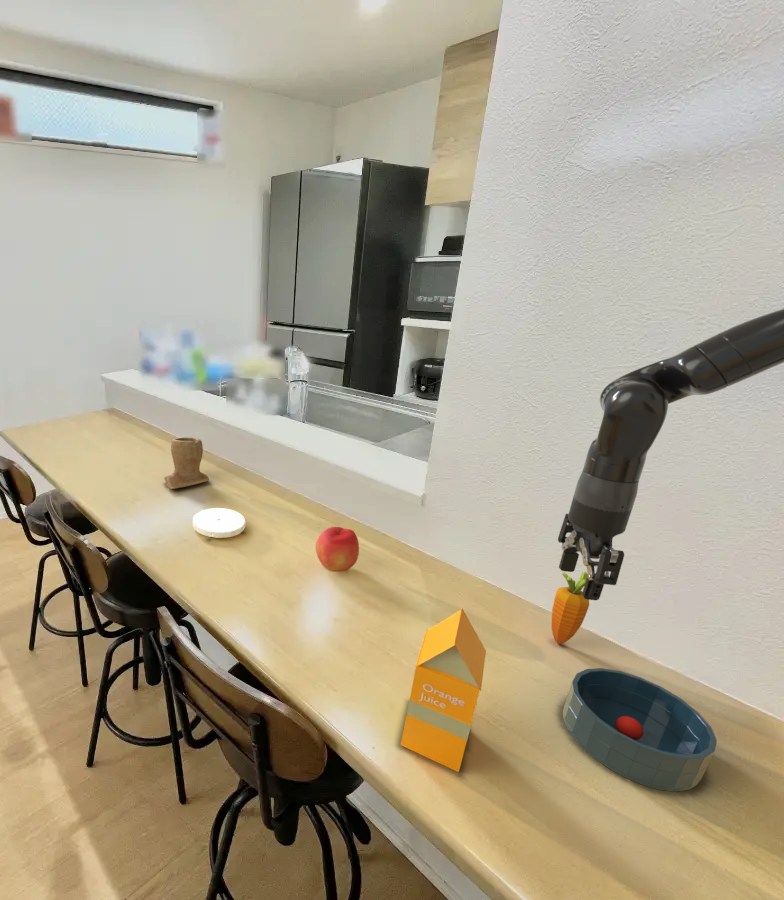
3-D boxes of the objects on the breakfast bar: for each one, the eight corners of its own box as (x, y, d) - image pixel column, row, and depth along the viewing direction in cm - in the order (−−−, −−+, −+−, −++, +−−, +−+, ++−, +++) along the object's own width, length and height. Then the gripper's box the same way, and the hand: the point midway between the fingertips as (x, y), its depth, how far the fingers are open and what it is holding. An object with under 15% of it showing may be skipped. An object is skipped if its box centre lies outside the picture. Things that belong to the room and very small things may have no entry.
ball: (652, 727, 70) (634, 725, 69) (644, 745, 70) (627, 744, 70) (630, 712, 73) (614, 710, 72) (623, 729, 73) (607, 728, 73)
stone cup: (195, 472, 169) (195, 430, 164) (213, 484, 160) (214, 440, 154) (155, 481, 163) (154, 437, 158) (172, 494, 153) (171, 448, 148)
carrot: (548, 651, 89) (570, 580, 84) (537, 632, 93) (557, 564, 88) (580, 655, 88) (604, 584, 82) (567, 636, 92) (589, 567, 87)
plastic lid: (230, 546, 123) (230, 537, 122) (182, 532, 130) (182, 523, 129) (253, 523, 134) (253, 515, 134) (208, 511, 141) (208, 503, 140)
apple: (358, 562, 116) (363, 525, 113) (353, 584, 108) (358, 544, 105) (317, 553, 120) (320, 517, 116) (309, 574, 112) (312, 535, 108)
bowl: (683, 725, 74) (697, 694, 72) (716, 814, 62) (734, 780, 60) (559, 683, 82) (568, 654, 80) (567, 755, 70) (578, 723, 68)
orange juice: (399, 745, 71) (421, 632, 64) (411, 703, 78) (432, 597, 71) (460, 773, 67) (490, 656, 60) (467, 726, 74) (494, 617, 67)
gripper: (657, 522, 73) (626, 612, 79) (606, 484, 86) (582, 564, 92) (598, 517, 75) (572, 605, 80) (556, 481, 88) (536, 559, 93)
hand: (577, 583), depth 86 cm, fingers open, 8 cm apart
